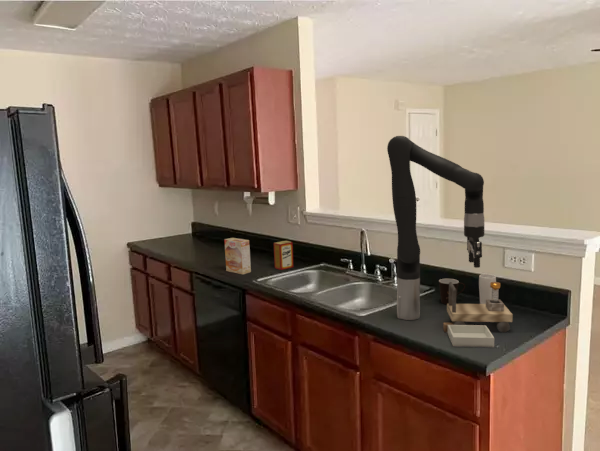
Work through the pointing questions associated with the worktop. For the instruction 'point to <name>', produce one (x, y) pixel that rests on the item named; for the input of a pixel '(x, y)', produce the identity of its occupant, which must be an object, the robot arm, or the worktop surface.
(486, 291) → the drinking glass
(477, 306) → the trolley
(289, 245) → the baking soda box
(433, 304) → the worktop surface
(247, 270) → the coffeecake box
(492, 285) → the stop pin
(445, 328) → the wheel chock
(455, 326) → the tray
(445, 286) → the coffee mug
